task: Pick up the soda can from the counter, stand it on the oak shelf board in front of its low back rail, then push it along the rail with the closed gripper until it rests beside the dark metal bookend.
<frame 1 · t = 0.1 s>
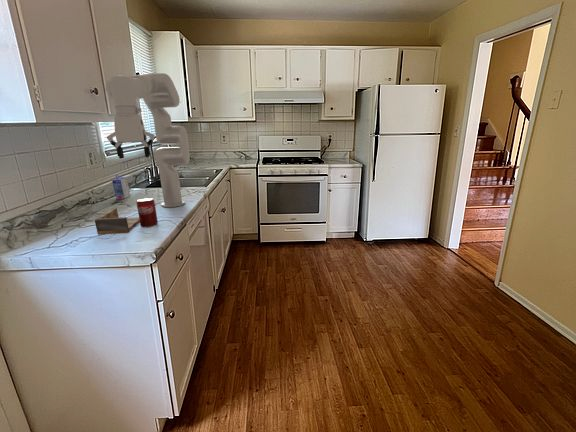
hand: (134, 157, 120), 31 cm above the countertop, fingers open, 9 cm apart
soda can: (149, 225, 138), on the countertop
ink cartridge box: (123, 197, 193), on the countertop
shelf: (121, 226, 137), on the countertop
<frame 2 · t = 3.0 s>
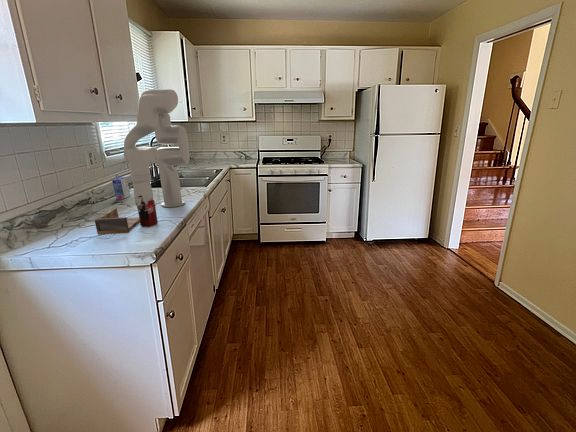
hand: (148, 217, 137), 4 cm above the countertop, fingers closed on soda can, 7 cm apart
soda can: (149, 225, 138), on the countertop, touching gripper
everything else where it was.
when the fingers open (7 cm above the countertop, at t = 8.3 s): soda can drops 1 cm, resting on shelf.
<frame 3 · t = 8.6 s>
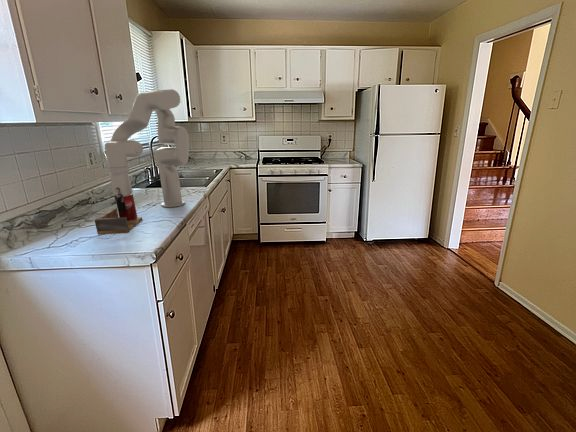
hand: (126, 208, 139), 7 cm above the countertop, fingers open, 9 cm apart
soda can: (129, 220, 141), point 1 cm above the countertop, touching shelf
everything else where it was.
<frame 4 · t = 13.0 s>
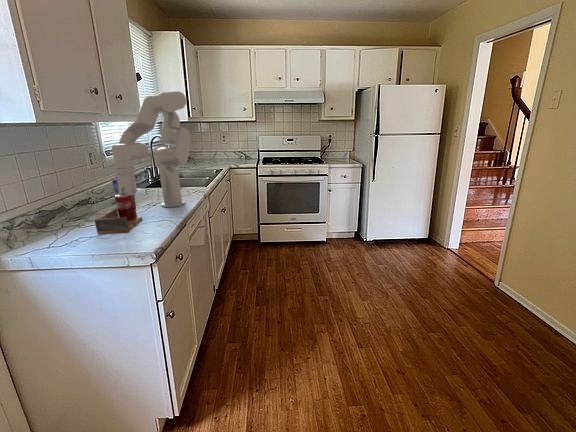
hand: (132, 209, 146), 5 cm above the countertop, fingers closed
soda can: (129, 219, 141), point 2 cm above the countertop, touching gripper, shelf
everything else where it was.
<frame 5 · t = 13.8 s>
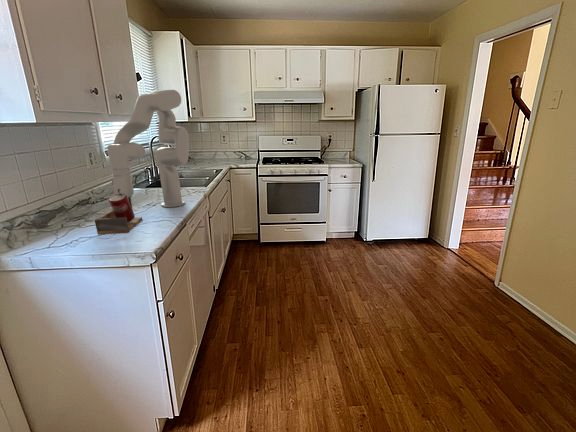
hand: (128, 211, 142), 5 cm above the countertop, fingers closed
soda can: (126, 219, 139), point 2 cm above the countertop, touching gripper
everything else where it was.
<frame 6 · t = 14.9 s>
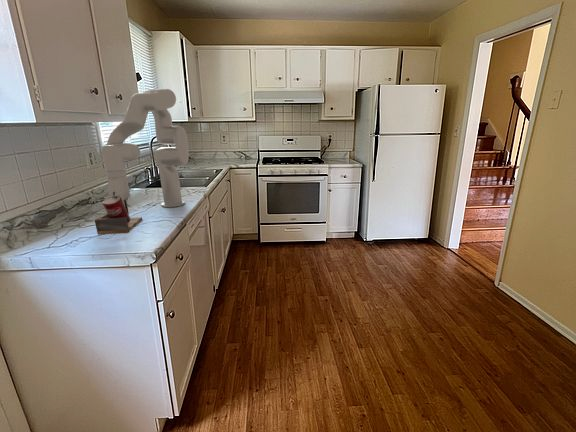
hand: (124, 214, 137), 5 cm above the countertop, fingers closed
soda can: (122, 223, 134), point 2 cm above the countertop, touching gripper, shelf
everything else where it was.
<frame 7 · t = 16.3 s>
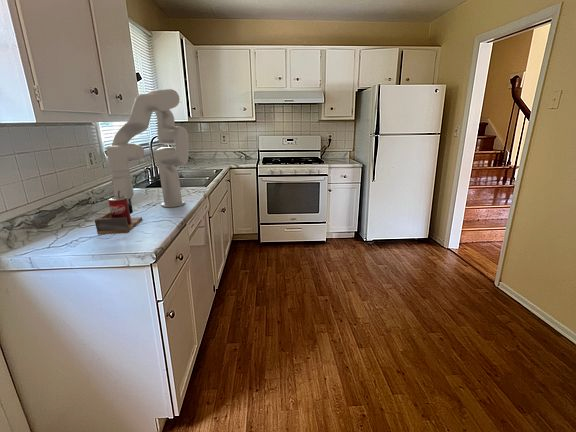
hand: (128, 213, 141), 4 cm above the countertop, fingers closed
soda can: (122, 225, 134), point 1 cm above the countertop, touching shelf
everything else where it was.
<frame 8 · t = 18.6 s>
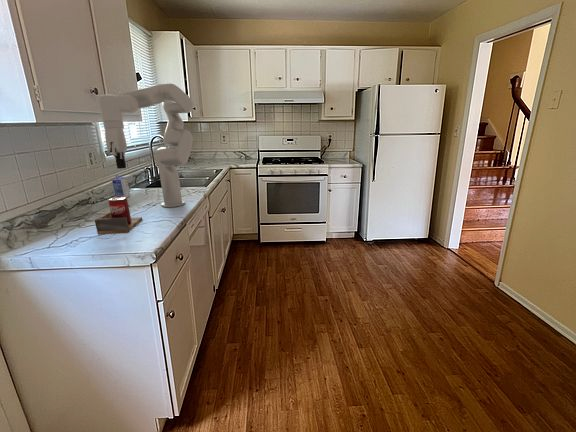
hand: (121, 168, 137), 25 cm above the countertop, fingers closed
nothing on the countertop moved.
at the end: soda can inside the target area (1.7 cm from its centre), point 1.3 cm above the countertop; soda can tilted 0°; the gripper is holding nothing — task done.
